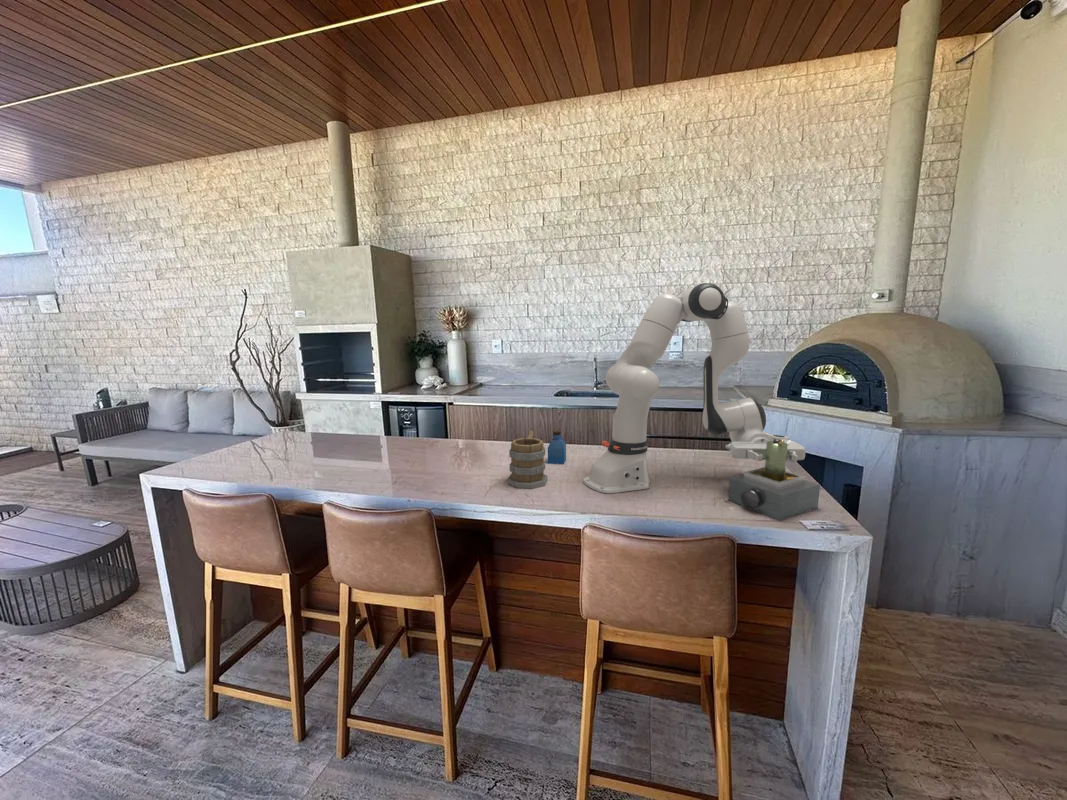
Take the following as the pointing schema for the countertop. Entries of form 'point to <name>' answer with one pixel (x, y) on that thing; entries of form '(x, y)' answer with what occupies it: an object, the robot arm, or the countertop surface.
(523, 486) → the tankard
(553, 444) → the perfume bottle
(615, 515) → the countertop surface
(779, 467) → the spout can
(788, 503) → the gearbox housing
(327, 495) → the countertop surface
